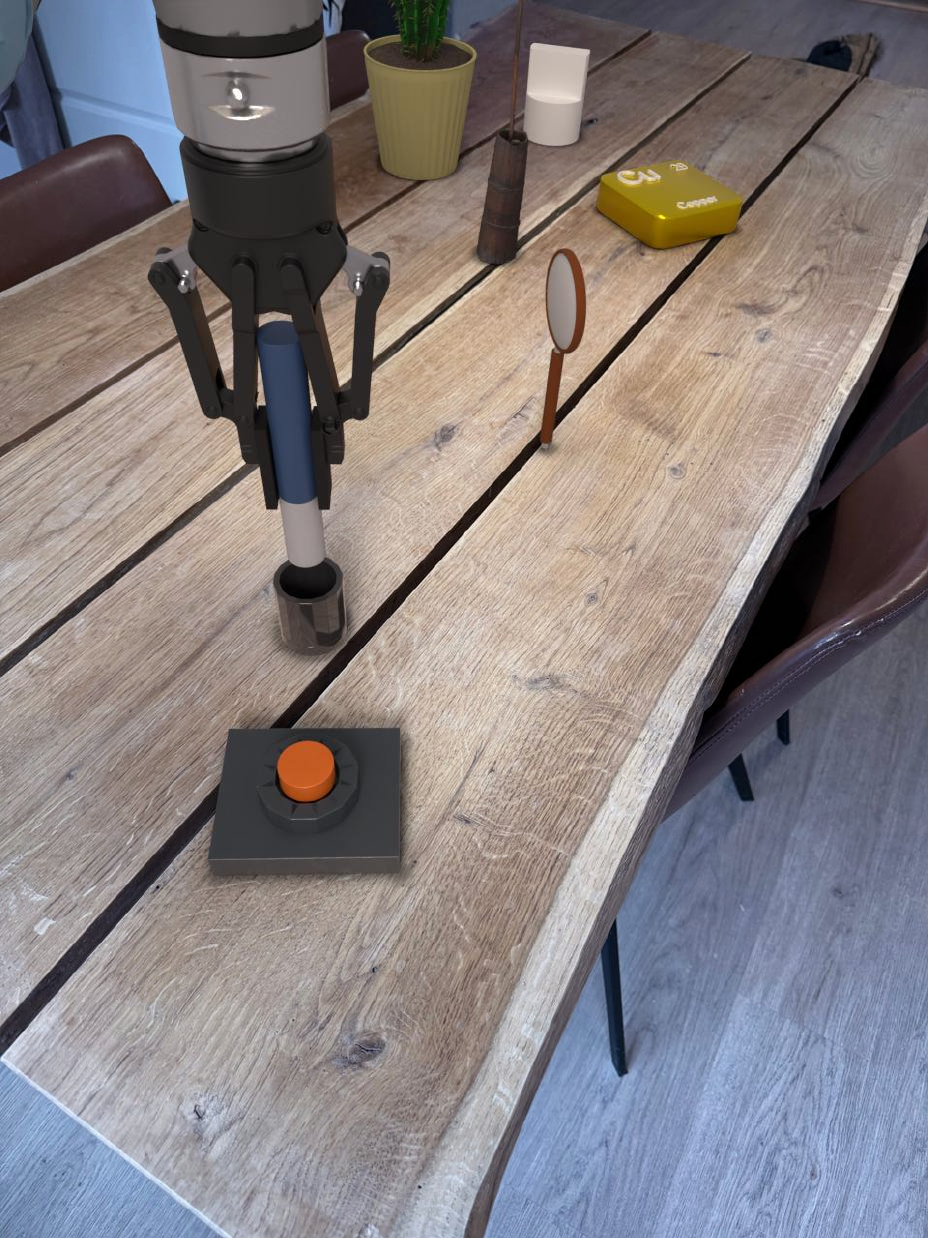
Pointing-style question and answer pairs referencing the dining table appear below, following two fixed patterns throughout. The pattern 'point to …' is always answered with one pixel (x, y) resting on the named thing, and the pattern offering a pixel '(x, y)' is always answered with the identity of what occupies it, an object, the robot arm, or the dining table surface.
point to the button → (306, 771)
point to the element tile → (668, 204)
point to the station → (308, 806)
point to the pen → (291, 440)
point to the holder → (311, 606)
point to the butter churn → (505, 184)
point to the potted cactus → (419, 91)
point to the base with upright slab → (555, 94)
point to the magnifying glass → (562, 326)
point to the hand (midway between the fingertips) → (299, 496)
